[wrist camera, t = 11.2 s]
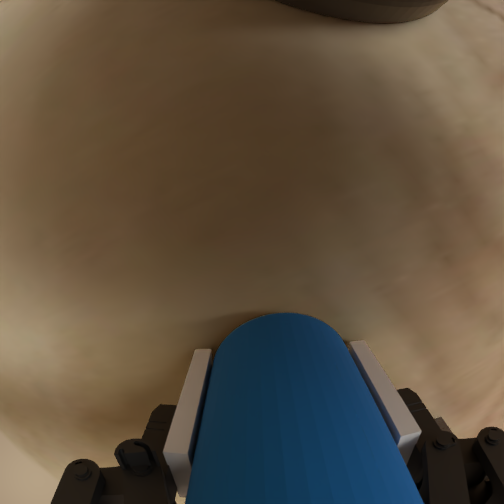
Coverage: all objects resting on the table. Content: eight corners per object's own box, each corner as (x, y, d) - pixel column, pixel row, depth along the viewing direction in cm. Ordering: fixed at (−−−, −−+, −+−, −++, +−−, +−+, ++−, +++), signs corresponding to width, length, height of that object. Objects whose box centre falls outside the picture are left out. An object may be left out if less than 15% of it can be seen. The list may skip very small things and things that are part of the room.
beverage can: (262, 429, 16) (269, 629, 4) (187, 351, 15) (107, 591, 3) (365, 373, 15) (462, 571, 3) (302, 278, 14) (422, 551, 2)
